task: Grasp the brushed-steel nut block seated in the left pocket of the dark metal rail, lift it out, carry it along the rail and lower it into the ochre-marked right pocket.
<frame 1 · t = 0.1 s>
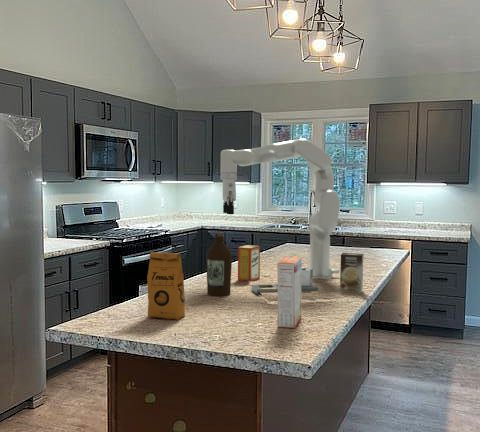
hand: (228, 213, 246), 31 cm above the worktop, tool pointing down, fingers open, 9 cm apart
cage nut: (302, 288, 224), point 1 cm above the worktop, touching rail
coffee box: (351, 291, 224), on the worktop
coffee package: (166, 317, 180), on the worktop
olive oil: (218, 294, 217), on the worktop
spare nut: (305, 286, 234), on the worktop
rail: (284, 291, 223), on the worktop
baking soda box: (248, 279, 250), on the worktop
cracker box: (289, 323, 173), on the worktop
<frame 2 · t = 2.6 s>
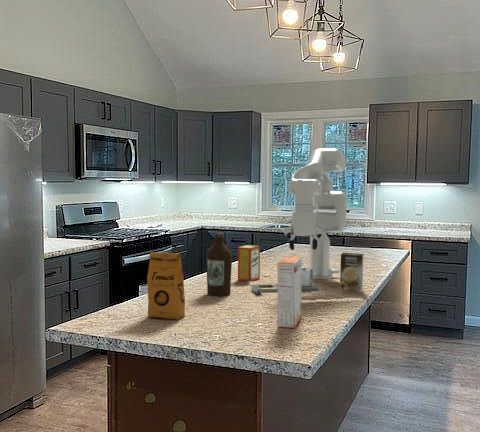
hand: (303, 249, 223), 18 cm above the worktop, tool pointing down, fingers open, 9 cm apart
nothing on the worktop moved.
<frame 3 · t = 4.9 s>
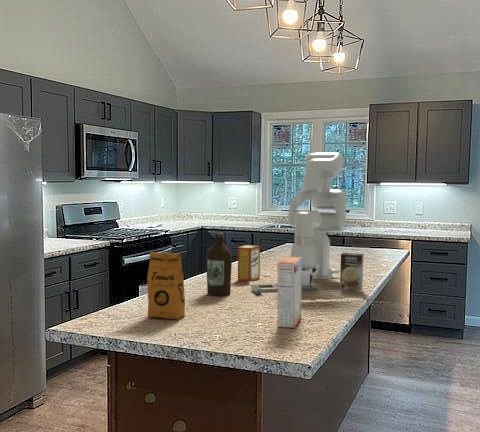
hand: (303, 283, 224), 3 cm above the worktop, tool pointing down, fingers closed on cage nut, 4 cm apart
cage nut: (302, 288, 224), point 1 cm above the worktop, touching gripper, rail
everything else where it was.
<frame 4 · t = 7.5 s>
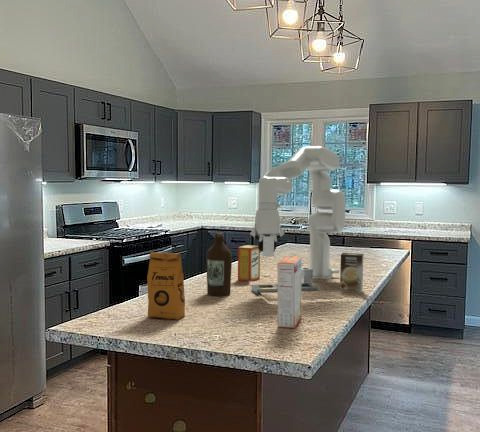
hand: (267, 250, 220), 18 cm above the worktop, tool pointing down, fingers closed on cage nut, 4 cm apart
cage nut: (267, 255, 220), point 16 cm above the worktop, touching gripper
everything else where it was.
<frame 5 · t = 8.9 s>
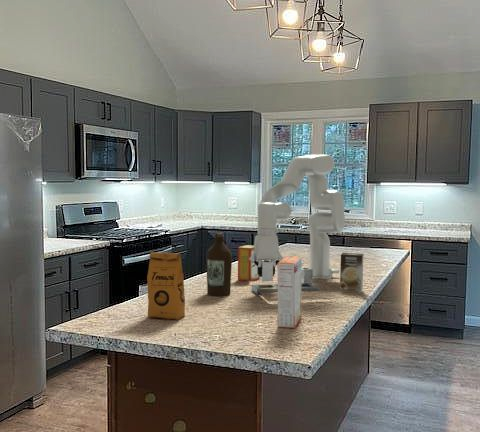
hand: (266, 275, 221), 7 cm above the worktop, tool pointing down, fingers closed on cage nut, 4 cm apart
cage nut: (266, 280, 221), point 5 cm above the worktop, touching gripper
everything else where it was.
when the fingers open (4 cm above the worktop, at t = 10.2 s): cage nut stays where it is, resting on rail.
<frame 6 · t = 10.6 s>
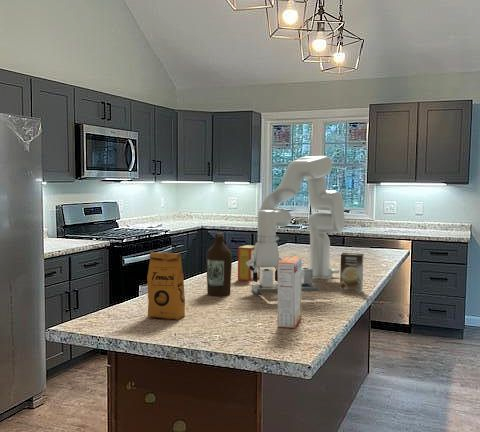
hand: (266, 281, 221), 5 cm above the worktop, tool pointing down, fingers open, 8 cm apart
cage nut: (266, 288, 221), point 1 cm above the worktop, touching rail
everything else where it was.
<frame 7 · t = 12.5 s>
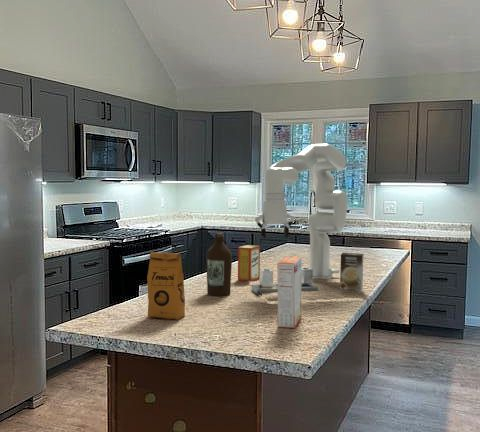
hand: (275, 237, 225), 22 cm above the worktop, tool pointing down, fingers open, 9 cm apart
nothing on the worktop moved.
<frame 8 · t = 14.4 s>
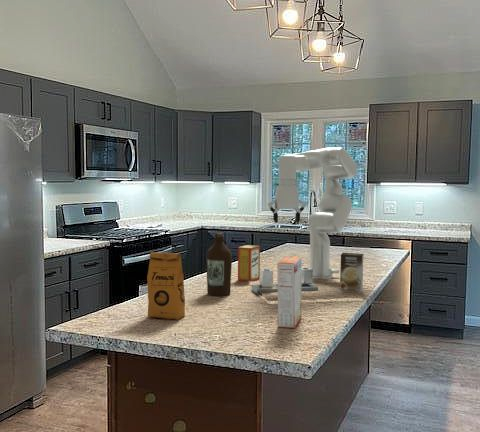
hand: (286, 222, 233), 28 cm above the worktop, tool pointing down, fingers open, 9 cm apart
nothing on the worktop moved.
at the end: cage nut 0.1 cm from the target spot on the rail, point 1.4 cm above the rail's base; cage nut tilted 0°; the gripper is holding nothing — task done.
